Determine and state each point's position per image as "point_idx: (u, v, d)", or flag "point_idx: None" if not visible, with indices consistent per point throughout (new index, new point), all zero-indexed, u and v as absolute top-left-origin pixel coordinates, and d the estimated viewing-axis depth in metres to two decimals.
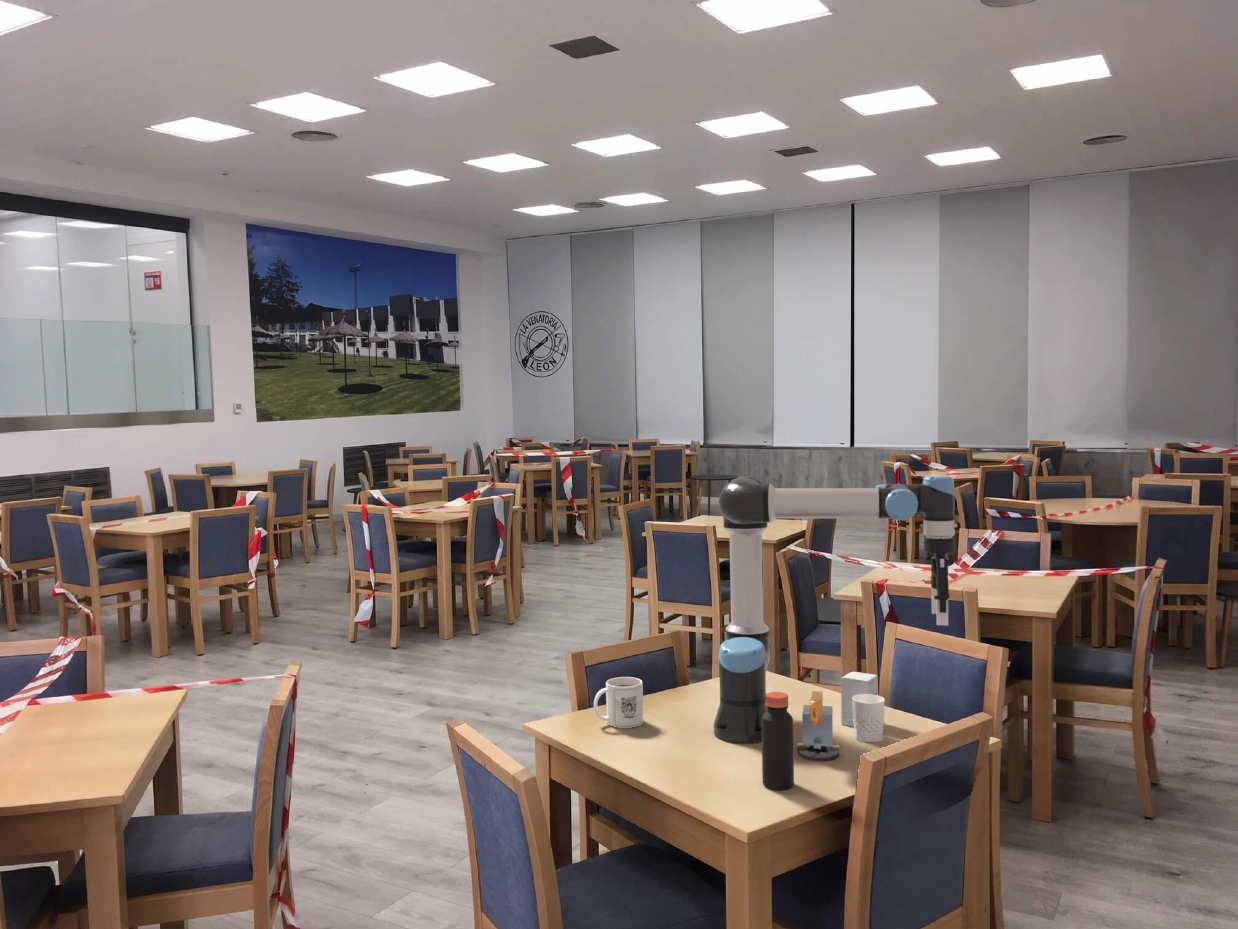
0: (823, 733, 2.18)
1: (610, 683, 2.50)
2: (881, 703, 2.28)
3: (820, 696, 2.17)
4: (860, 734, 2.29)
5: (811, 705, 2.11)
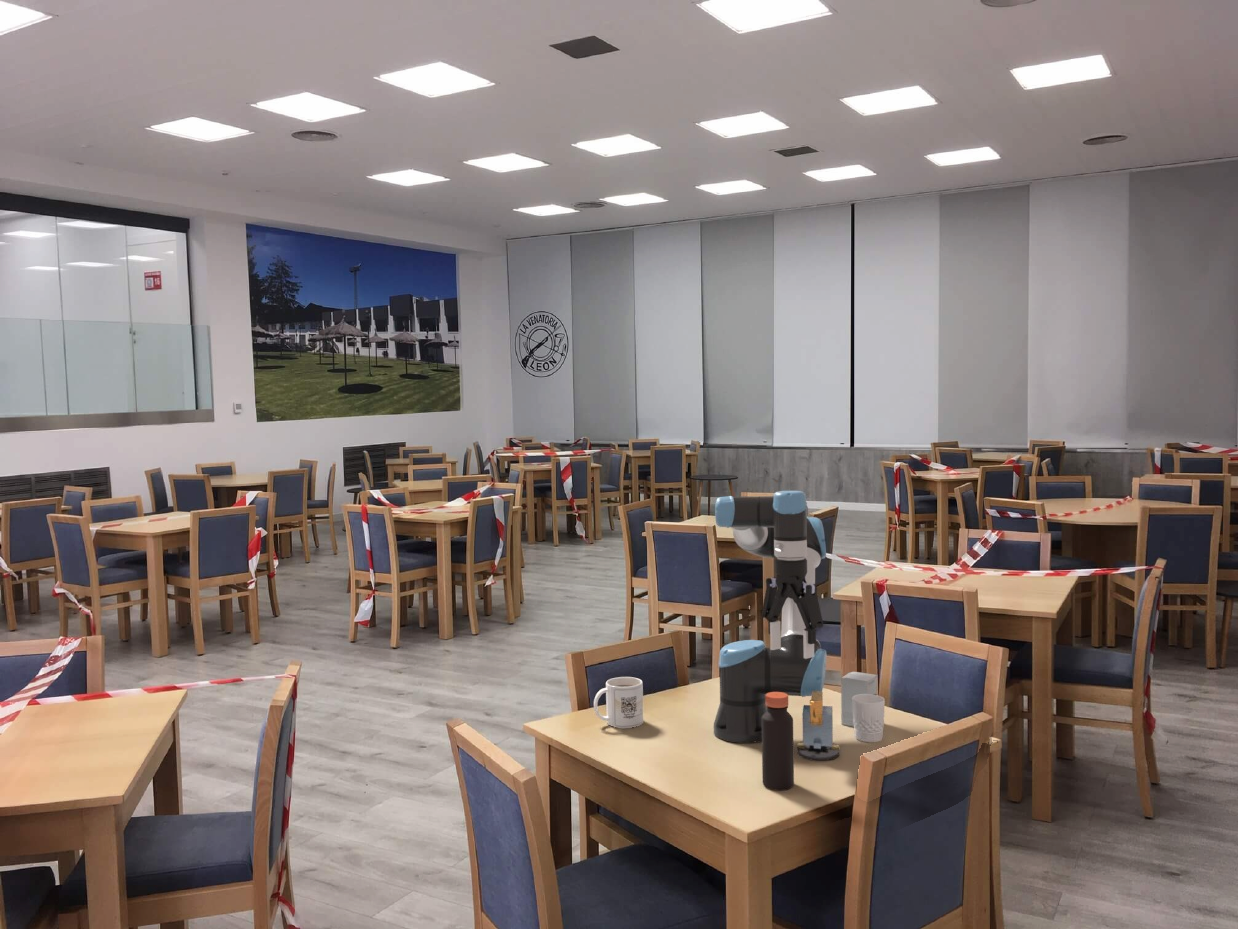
0: (823, 733, 2.18)
1: (610, 683, 2.50)
2: (881, 703, 2.28)
3: (820, 696, 2.17)
4: (860, 734, 2.29)
5: (811, 705, 2.11)
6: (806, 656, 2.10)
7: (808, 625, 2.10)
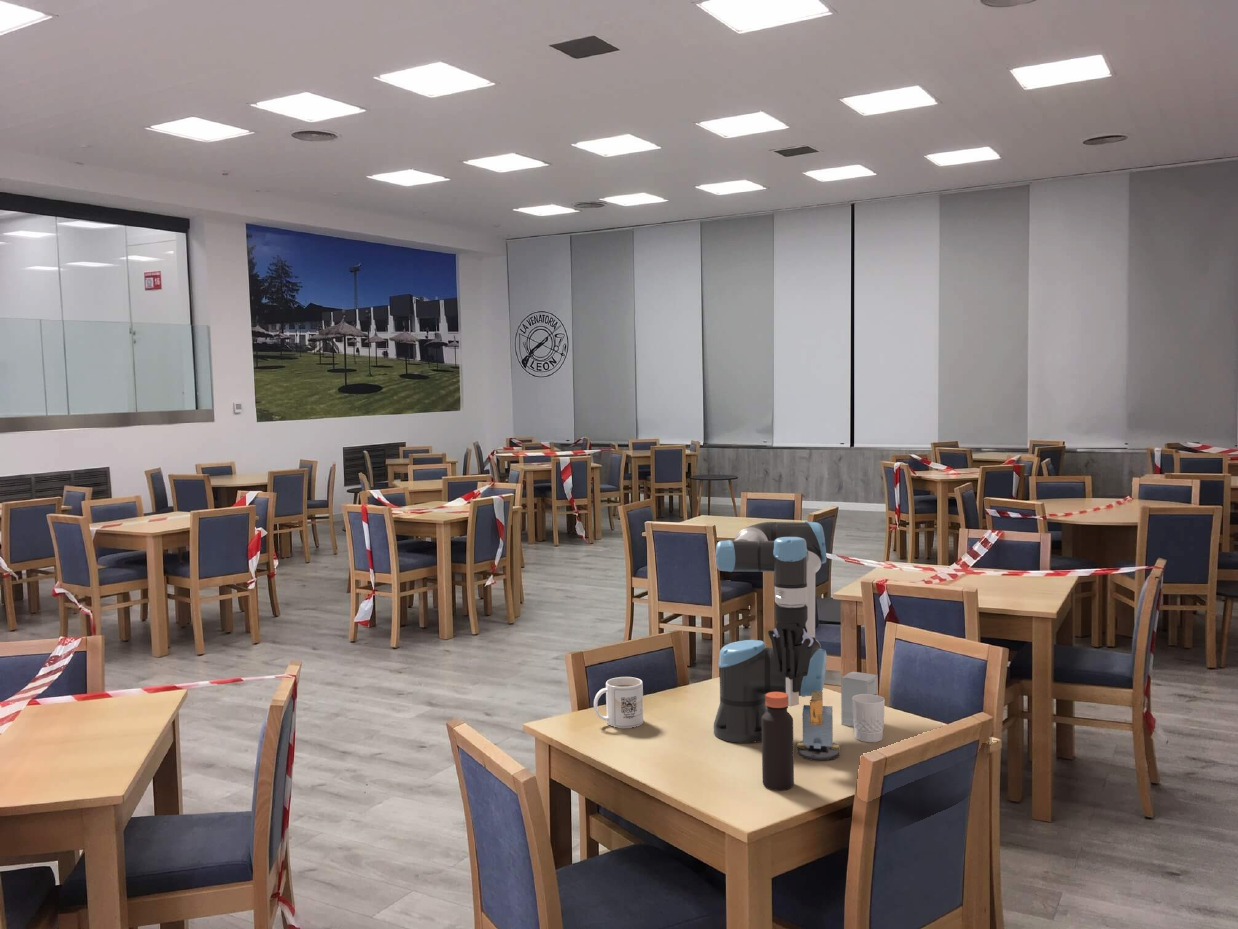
0: (823, 733, 2.18)
1: (610, 683, 2.50)
2: (881, 703, 2.28)
3: (820, 696, 2.17)
4: (860, 734, 2.29)
5: (811, 705, 2.11)
6: (791, 704, 2.15)
7: (793, 674, 2.14)
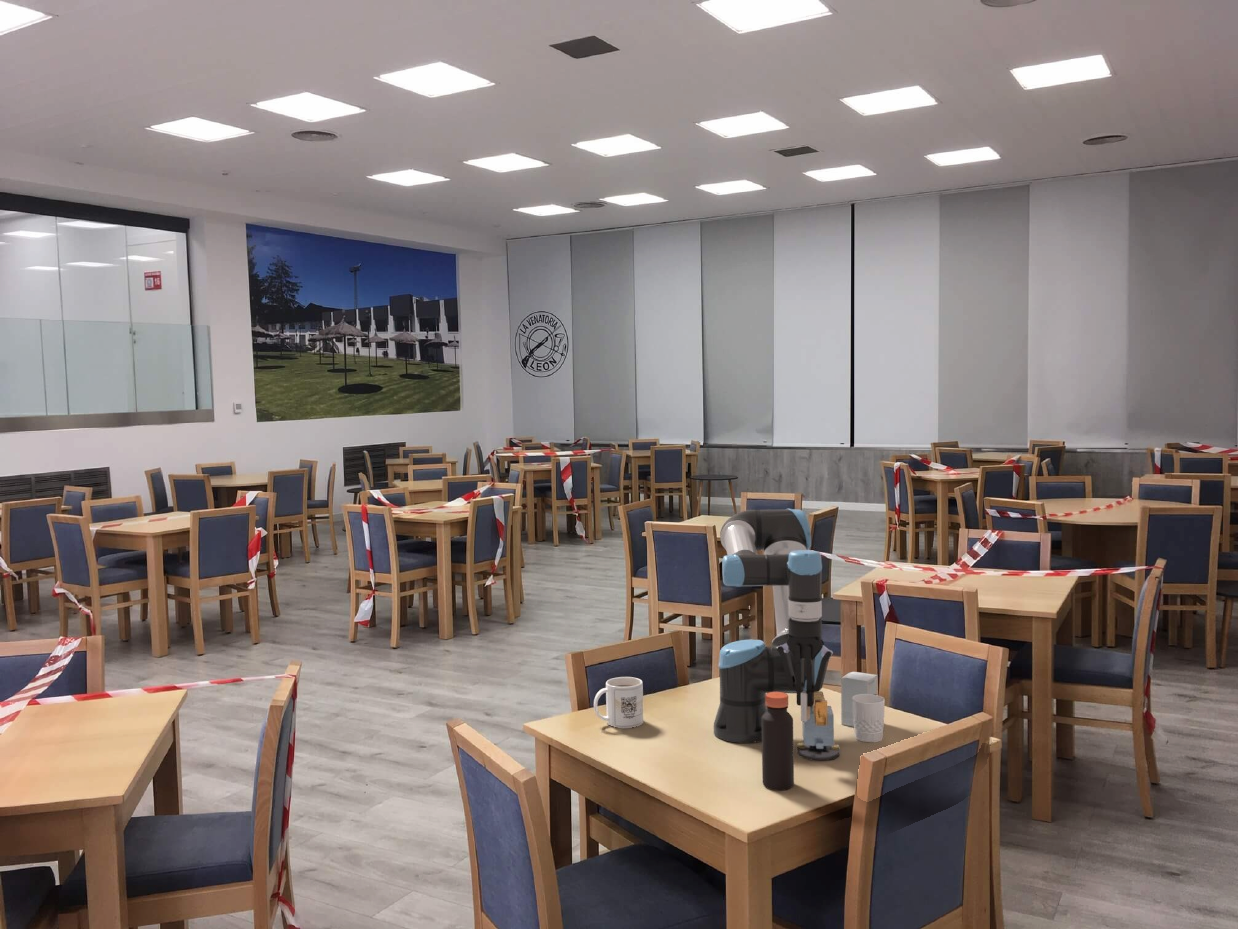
0: (825, 733, 2.18)
1: (610, 683, 2.50)
2: (881, 703, 2.28)
3: (822, 696, 2.17)
4: (860, 734, 2.29)
5: (816, 705, 2.10)
6: (806, 719, 2.13)
7: (810, 689, 2.12)
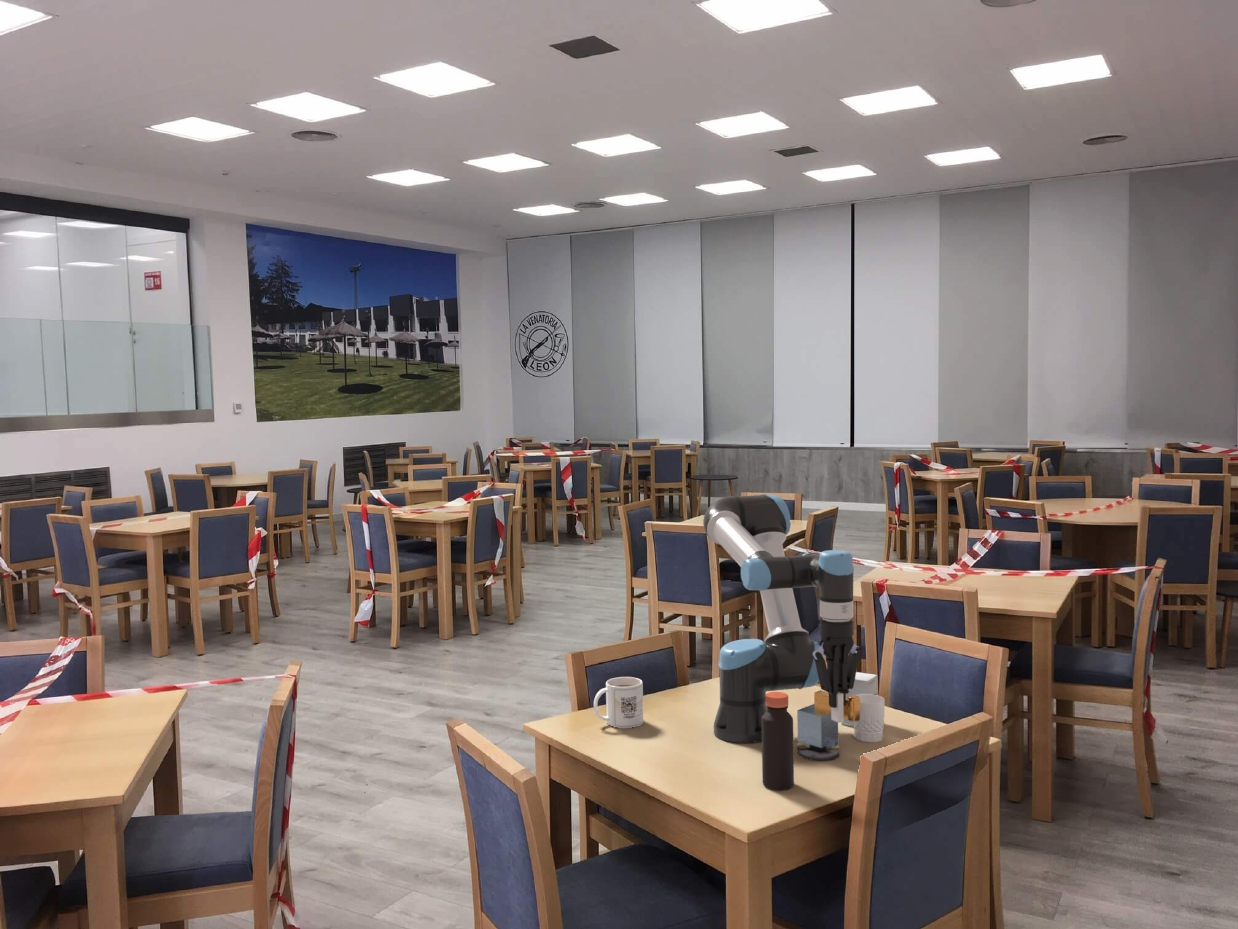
0: (833, 730, 2.20)
1: (610, 683, 2.50)
2: (881, 703, 2.28)
3: None
4: (860, 734, 2.29)
5: (853, 702, 2.12)
6: None
7: (846, 688, 2.12)
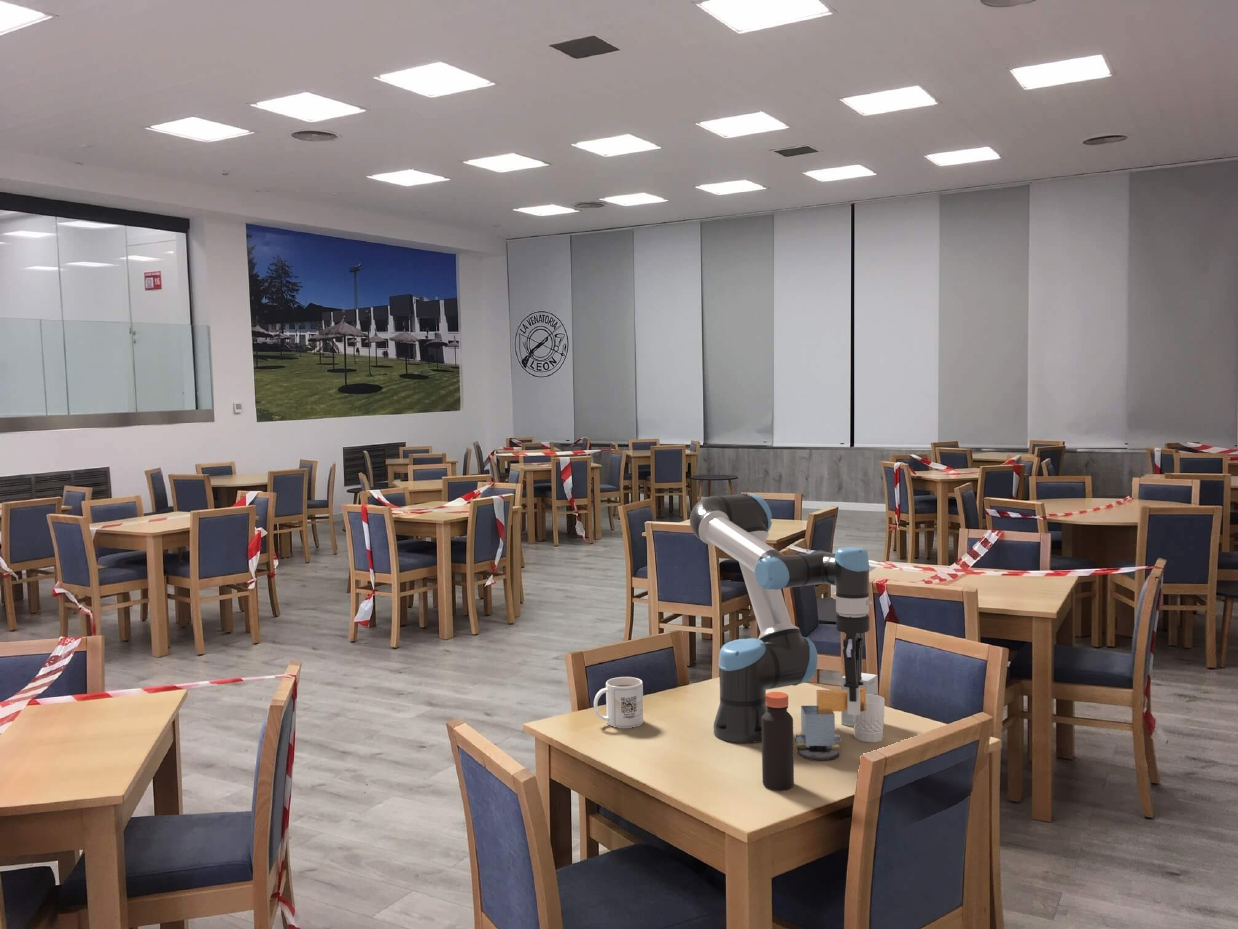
0: None
1: (610, 683, 2.50)
2: (881, 703, 2.28)
3: (833, 690, 2.22)
4: (860, 734, 2.29)
5: (864, 692, 2.19)
6: None
7: (859, 680, 2.18)
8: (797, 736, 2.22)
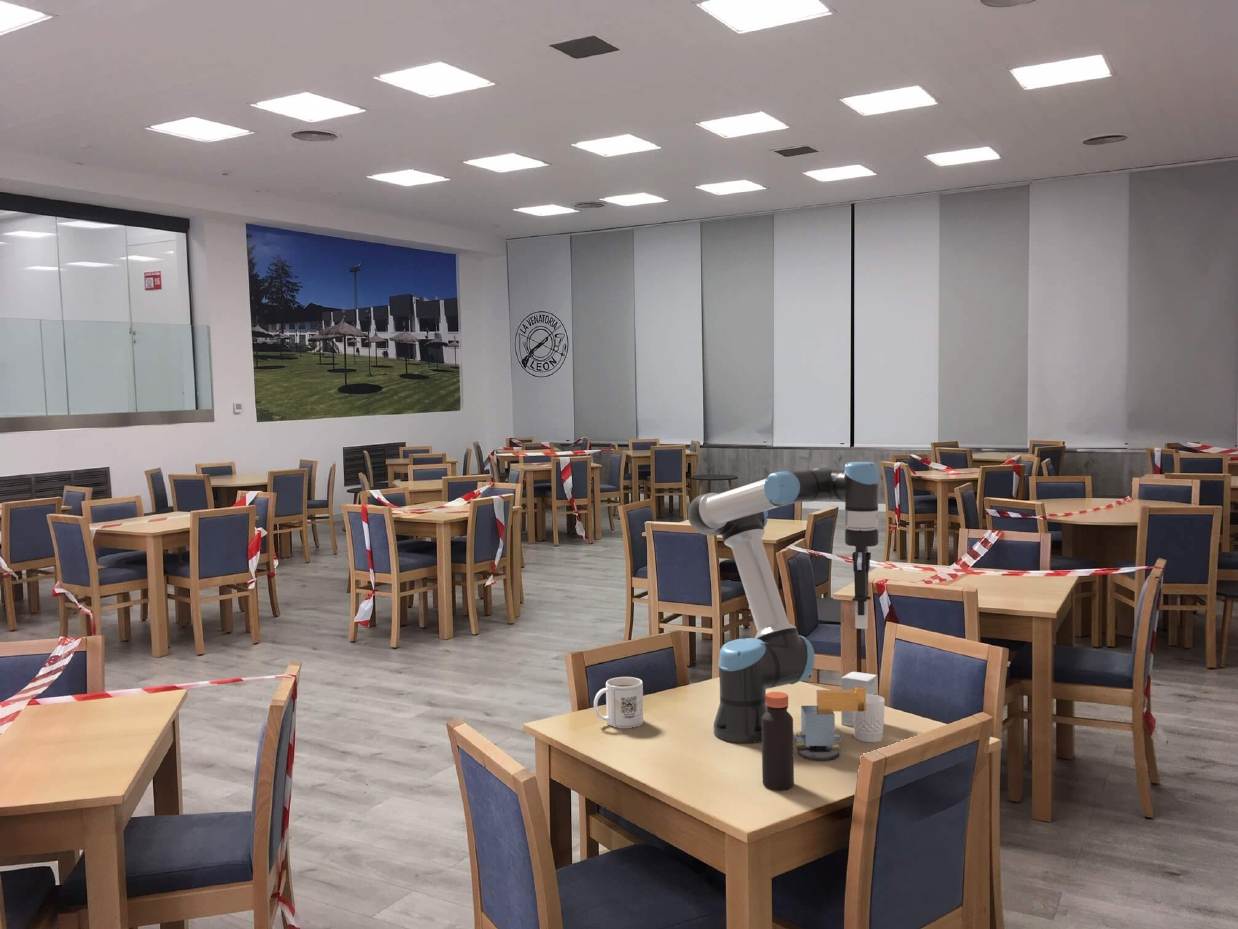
0: None
1: (610, 683, 2.50)
2: (881, 703, 2.28)
3: (833, 690, 2.22)
4: (860, 734, 2.29)
5: (864, 692, 2.19)
6: None
7: None
8: (797, 736, 2.22)
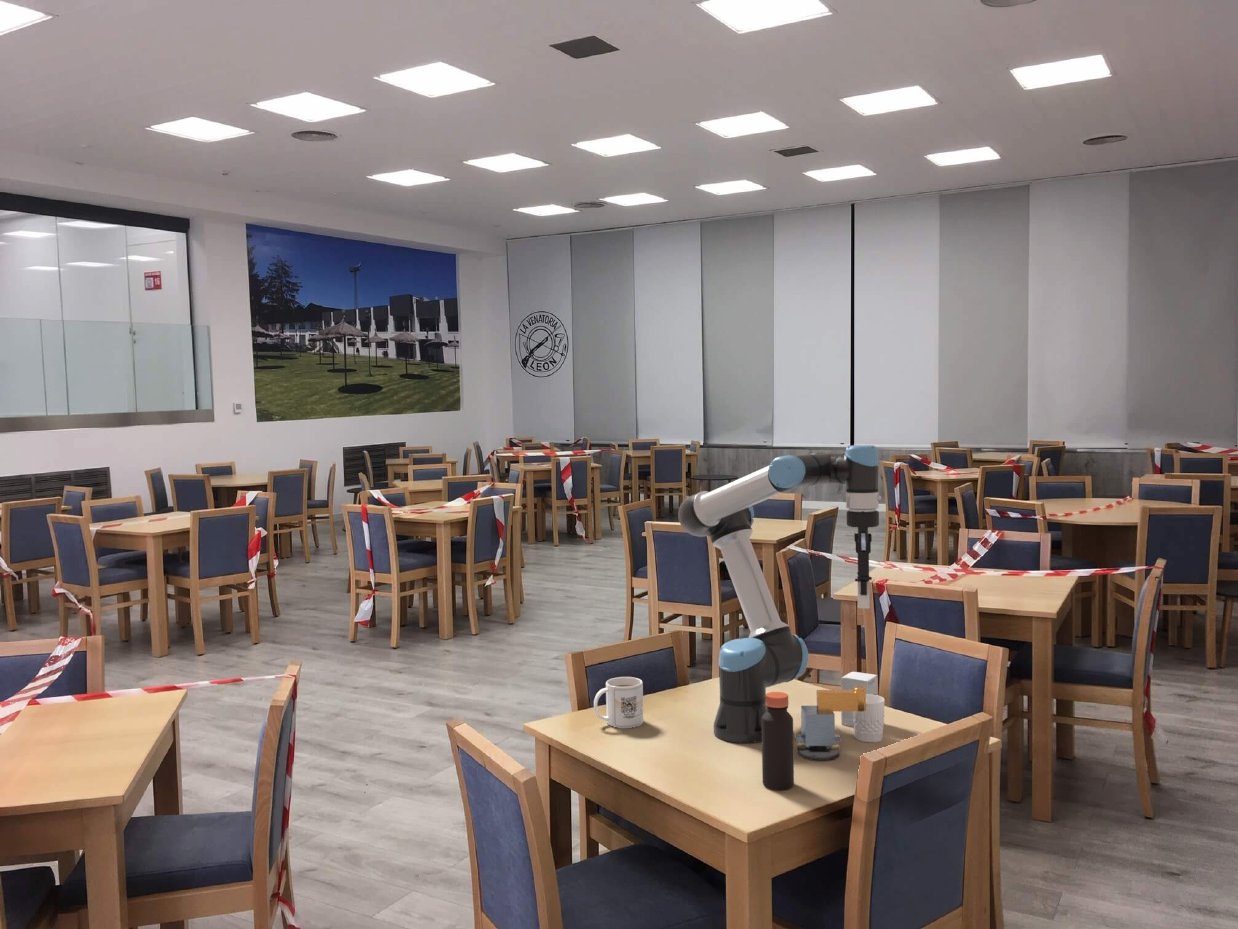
0: None
1: (610, 683, 2.50)
2: (881, 703, 2.28)
3: (833, 690, 2.22)
4: (860, 734, 2.29)
5: (864, 692, 2.19)
6: None
7: None
8: (797, 736, 2.22)
